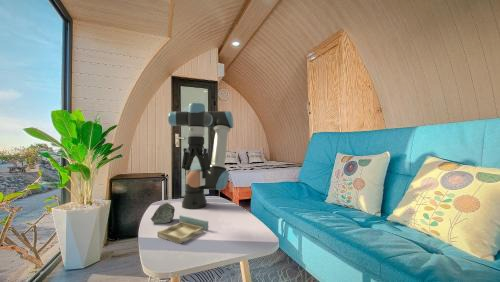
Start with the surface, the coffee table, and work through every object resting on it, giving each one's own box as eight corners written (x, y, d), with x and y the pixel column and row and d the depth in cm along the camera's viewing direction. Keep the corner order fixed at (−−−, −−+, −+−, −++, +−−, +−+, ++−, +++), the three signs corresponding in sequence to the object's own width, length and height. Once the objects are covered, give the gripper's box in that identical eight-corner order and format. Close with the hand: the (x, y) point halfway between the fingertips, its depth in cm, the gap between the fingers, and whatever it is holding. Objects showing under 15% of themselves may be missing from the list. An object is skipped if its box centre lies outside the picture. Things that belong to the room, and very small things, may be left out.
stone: (160, 203, 105) (171, 198, 115) (146, 216, 106) (158, 209, 116) (172, 219, 104) (182, 212, 114) (157, 231, 105) (169, 223, 115)
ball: (194, 185, 108) (194, 169, 108) (207, 186, 104) (207, 169, 104) (182, 187, 101) (183, 170, 101) (196, 189, 97) (196, 171, 97)
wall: (180, 223, 107) (180, 215, 107) (208, 230, 99) (208, 221, 99) (179, 224, 106) (179, 215, 106) (206, 231, 98) (206, 222, 98)
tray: (181, 226, 103) (181, 221, 103) (203, 231, 97) (203, 227, 97) (157, 236, 92) (157, 231, 92) (180, 243, 85) (180, 238, 85)
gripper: (174, 136, 105) (173, 183, 104) (208, 135, 95) (207, 188, 94) (185, 136, 111) (184, 181, 111) (219, 136, 102) (218, 185, 101)
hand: (195, 184), depth 102 cm, fingers closed on ball, 8 cm apart
